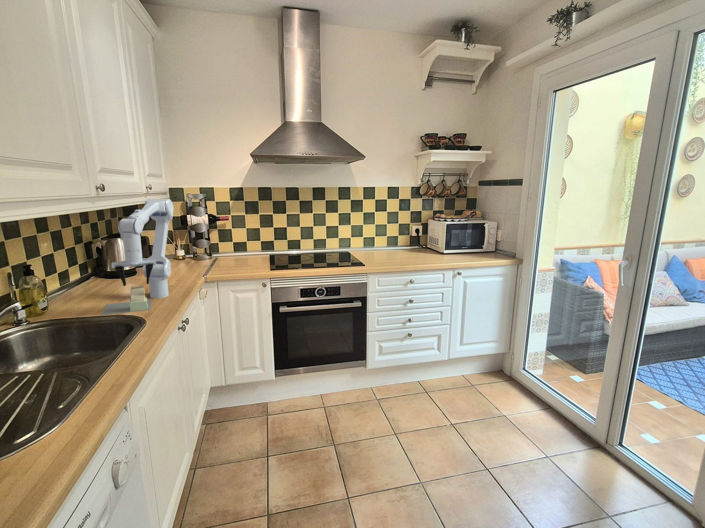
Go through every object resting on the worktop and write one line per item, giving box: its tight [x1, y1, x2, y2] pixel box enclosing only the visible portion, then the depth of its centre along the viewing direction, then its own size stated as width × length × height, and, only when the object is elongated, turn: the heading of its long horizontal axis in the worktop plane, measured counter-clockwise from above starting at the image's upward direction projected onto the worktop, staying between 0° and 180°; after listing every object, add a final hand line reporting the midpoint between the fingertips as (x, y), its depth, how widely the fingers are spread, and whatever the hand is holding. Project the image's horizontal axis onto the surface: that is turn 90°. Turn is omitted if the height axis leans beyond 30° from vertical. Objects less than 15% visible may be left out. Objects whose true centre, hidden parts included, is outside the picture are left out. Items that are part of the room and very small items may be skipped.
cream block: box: [129, 285, 146, 302], centre depth 136 cm, size 4×4×5 cm
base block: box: [129, 296, 148, 312], centre depth 137 cm, size 6×6×4 cm
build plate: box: [100, 299, 152, 317], centre depth 139 cm, size 15×16×1 cm
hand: (136, 284), depth 136 cm, fingers open, 7 cm apart
